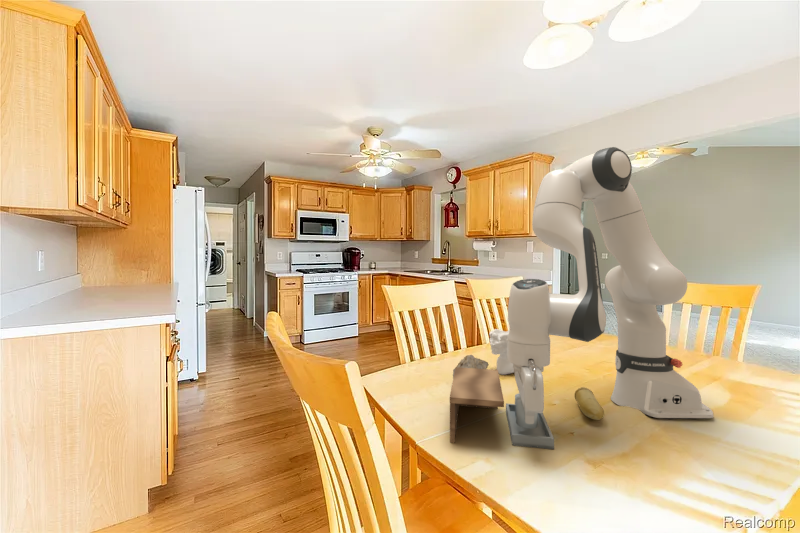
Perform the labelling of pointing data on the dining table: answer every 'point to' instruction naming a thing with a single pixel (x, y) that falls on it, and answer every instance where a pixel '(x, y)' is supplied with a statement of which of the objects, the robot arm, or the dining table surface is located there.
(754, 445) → the dining table surface
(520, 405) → the pillar candle
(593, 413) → the potato
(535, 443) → the tray
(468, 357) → the rock
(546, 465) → the dining table surface
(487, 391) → the counter
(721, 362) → the dining table surface
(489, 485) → the dining table surface
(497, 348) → the small white figurine
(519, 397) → the pale grey cylinder
